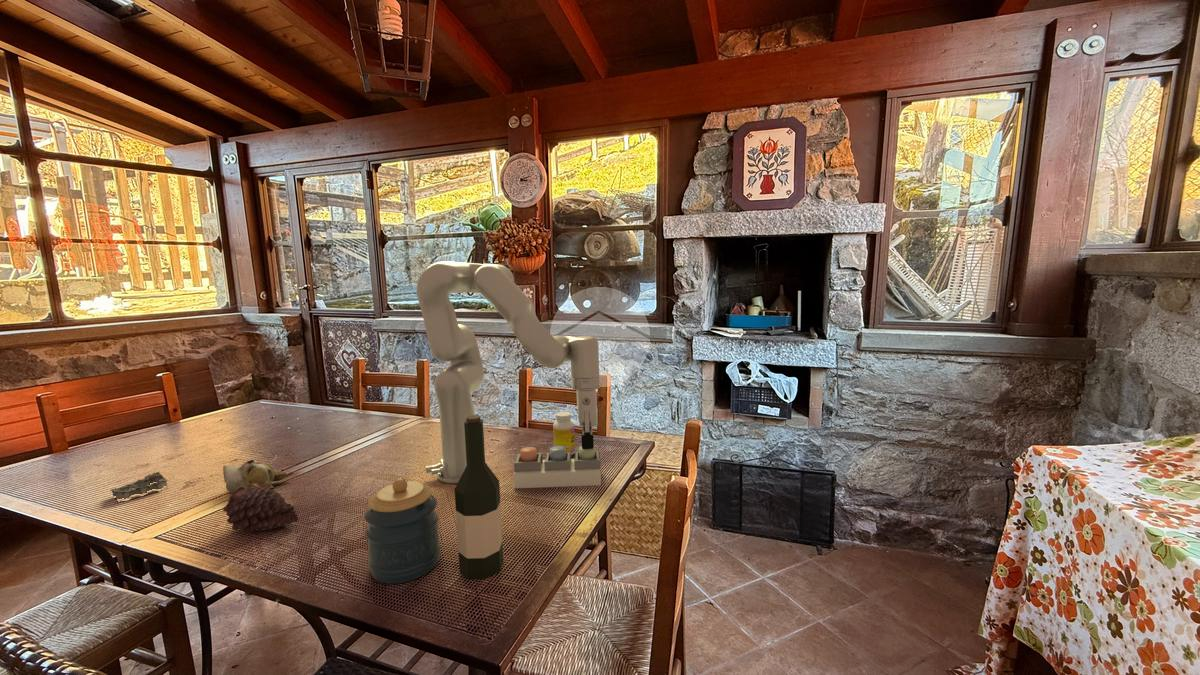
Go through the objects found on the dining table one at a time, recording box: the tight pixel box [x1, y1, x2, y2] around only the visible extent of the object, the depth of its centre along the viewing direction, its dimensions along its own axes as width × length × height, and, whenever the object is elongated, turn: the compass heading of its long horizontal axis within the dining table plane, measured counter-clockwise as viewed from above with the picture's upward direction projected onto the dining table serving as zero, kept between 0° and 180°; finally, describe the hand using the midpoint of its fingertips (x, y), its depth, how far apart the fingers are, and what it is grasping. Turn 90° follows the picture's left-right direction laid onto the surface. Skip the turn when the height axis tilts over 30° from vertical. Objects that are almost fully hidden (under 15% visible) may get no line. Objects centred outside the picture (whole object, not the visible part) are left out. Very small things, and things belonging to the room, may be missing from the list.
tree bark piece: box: [110, 471, 168, 500], centre depth 126 cm, size 10×7×4 cm
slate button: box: [549, 445, 566, 461], centre depth 129 cm, size 4×4×3 cm
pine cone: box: [222, 486, 299, 533], centre depth 107 cm, size 18×10×10 cm
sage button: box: [578, 445, 596, 460], centre depth 129 cm, size 4×4×3 cm
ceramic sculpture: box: [222, 459, 294, 492], centre depth 127 cm, size 11×9×15 cm
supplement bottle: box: [552, 411, 576, 456], centre depth 148 cm, size 7×7×13 cm
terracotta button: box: [519, 446, 538, 462], centre depth 128 cm, size 4×4×3 cm
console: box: [513, 450, 602, 489], centre depth 129 cm, size 23×9×6 cm, turn 92°
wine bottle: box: [454, 414, 504, 580], centre depth 89 cm, size 8×8×30 cm
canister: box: [364, 477, 441, 585], centre depth 91 cm, size 13×13×18 cm
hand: (587, 447), depth 129 cm, fingers closed
